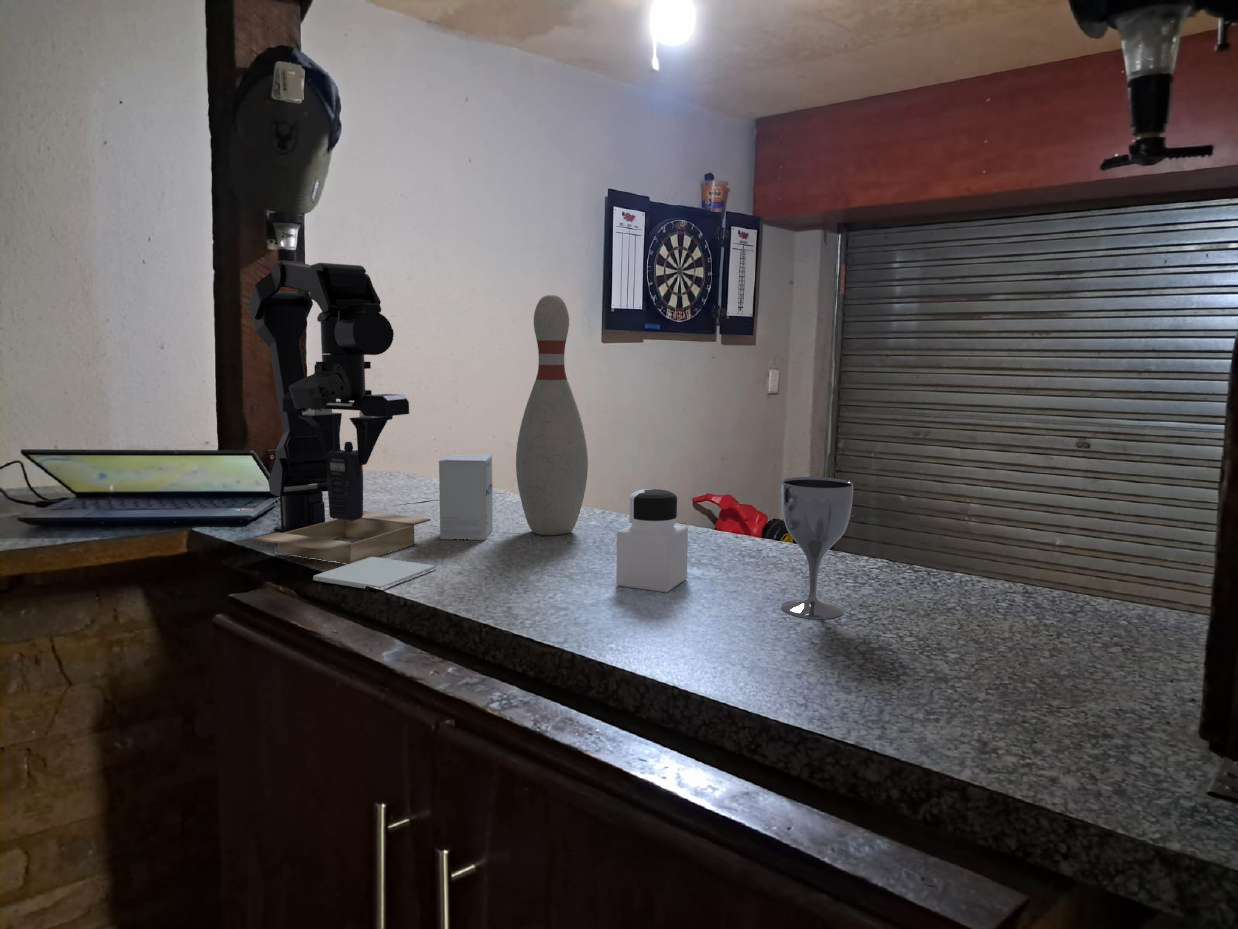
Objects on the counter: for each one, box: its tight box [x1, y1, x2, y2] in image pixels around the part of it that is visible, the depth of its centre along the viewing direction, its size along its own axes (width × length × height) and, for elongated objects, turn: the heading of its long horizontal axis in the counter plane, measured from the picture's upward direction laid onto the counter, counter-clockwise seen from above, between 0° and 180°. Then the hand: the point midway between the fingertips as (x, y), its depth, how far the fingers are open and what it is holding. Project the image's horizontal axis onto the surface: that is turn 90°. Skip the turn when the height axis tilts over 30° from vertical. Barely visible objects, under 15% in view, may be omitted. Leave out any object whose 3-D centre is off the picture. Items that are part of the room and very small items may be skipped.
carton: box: [254, 510, 432, 564], centre depth 124 cm, size 14×22×3 cm, turn 155°
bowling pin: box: [515, 294, 589, 536], centre depth 134 cm, size 11×12×38 cm
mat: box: [312, 557, 437, 590], centre depth 111 cm, size 11×11×1 cm
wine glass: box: [780, 476, 854, 620], centre depth 97 cm, size 8×8×15 cm
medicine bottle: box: [615, 488, 689, 593], centre depth 107 cm, size 7×7×12 cm
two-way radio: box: [327, 415, 364, 521], centre depth 121 cm, size 6×4×15 cm
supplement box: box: [438, 454, 494, 541], centre depth 133 cm, size 7×7×13 cm
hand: (347, 463), depth 121 cm, fingers closed on two-way radio, 5 cm apart
